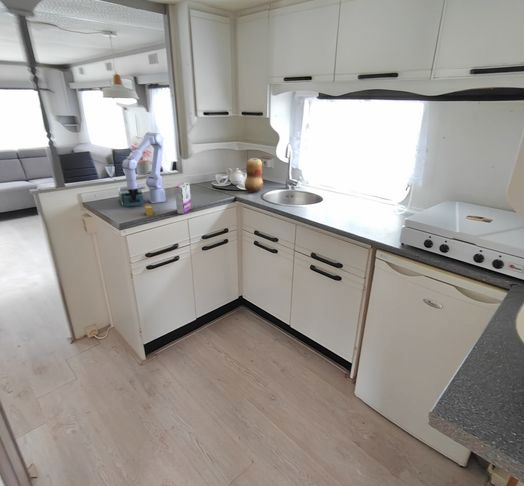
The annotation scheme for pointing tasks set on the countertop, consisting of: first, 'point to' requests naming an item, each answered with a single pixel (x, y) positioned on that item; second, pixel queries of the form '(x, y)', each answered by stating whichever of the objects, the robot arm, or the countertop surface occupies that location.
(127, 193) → the cabinet
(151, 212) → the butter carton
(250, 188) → the butternut squash
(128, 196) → the drawer
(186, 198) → the candy bar box
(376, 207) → the countertop surface
